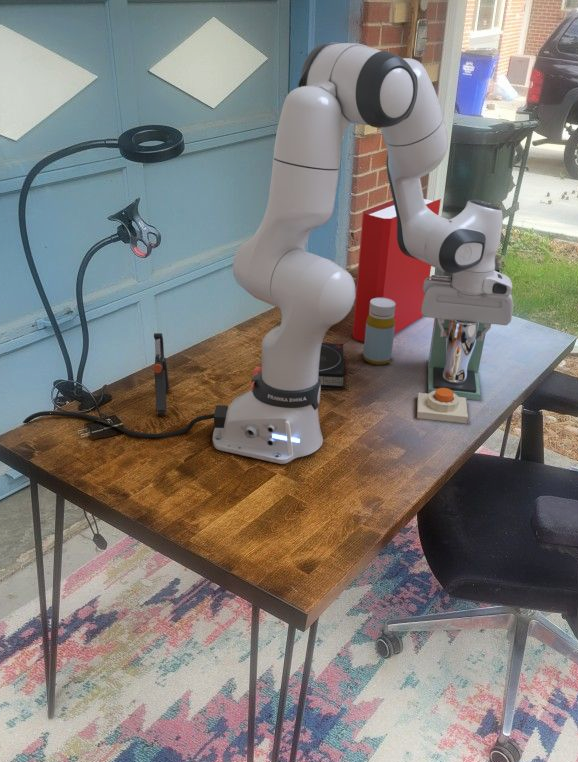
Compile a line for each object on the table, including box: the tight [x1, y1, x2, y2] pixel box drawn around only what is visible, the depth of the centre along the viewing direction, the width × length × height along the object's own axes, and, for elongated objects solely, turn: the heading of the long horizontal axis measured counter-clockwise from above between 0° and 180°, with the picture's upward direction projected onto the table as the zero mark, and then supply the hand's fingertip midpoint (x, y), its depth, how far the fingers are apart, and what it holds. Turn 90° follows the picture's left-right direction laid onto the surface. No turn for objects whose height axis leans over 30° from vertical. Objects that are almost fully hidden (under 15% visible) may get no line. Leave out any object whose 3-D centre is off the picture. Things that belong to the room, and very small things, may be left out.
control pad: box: [416, 391, 469, 424], centre depth 163 cm, size 11×9×4 cm
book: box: [352, 198, 442, 343], centre depth 191 cm, size 27×8×32 cm, turn 147°
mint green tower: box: [427, 258, 501, 401], centre depth 169 cm, size 13×18×27 cm
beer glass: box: [442, 320, 479, 384], centre depth 168 cm, size 7×7×15 cm
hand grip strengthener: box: [152, 332, 170, 416], centre depth 153 cm, size 2×12×15 cm, turn 9°
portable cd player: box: [319, 342, 345, 391], centre depth 173 cm, size 16×17×4 cm
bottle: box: [362, 298, 396, 366], centre depth 178 cm, size 7×7×15 cm
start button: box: [435, 388, 454, 403], centre depth 162 cm, size 4×4×2 cm
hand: (461, 338), depth 166 cm, fingers closed on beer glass, 7 cm apart
